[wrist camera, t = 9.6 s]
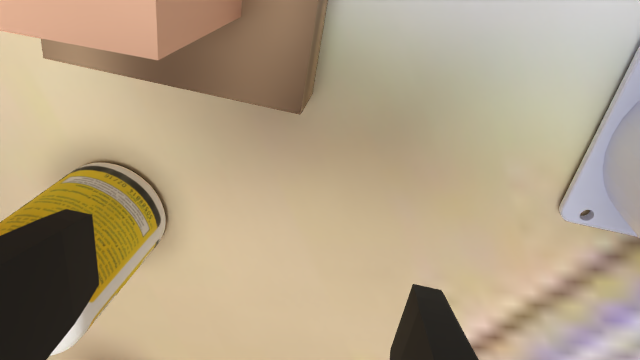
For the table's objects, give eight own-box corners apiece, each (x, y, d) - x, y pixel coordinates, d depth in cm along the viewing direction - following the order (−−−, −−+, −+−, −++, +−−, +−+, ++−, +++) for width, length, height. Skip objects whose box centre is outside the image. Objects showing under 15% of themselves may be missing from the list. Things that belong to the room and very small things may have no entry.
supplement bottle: (68, 143, 22) (-146, 276, 13) (175, 180, 22) (29, 335, 13) (67, 230, 25) (-111, 386, 16) (162, 262, 25) (34, 436, 16)
